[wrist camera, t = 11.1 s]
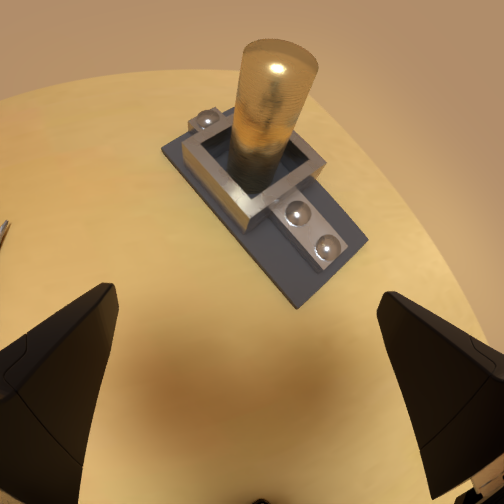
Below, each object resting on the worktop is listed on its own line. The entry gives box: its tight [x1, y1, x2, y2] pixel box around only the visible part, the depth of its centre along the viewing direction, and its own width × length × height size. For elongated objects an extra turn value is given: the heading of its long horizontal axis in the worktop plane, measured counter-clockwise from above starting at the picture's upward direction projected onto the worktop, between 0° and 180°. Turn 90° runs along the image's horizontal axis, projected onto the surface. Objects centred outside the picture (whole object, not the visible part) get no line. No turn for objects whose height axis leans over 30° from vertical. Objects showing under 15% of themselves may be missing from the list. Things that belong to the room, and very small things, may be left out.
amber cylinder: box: [226, 39, 318, 194], centre depth 19 cm, size 4×4×12 cm
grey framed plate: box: [181, 107, 348, 274], centre depth 23 cm, size 17×8×4 cm, turn 41°
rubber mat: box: [161, 107, 369, 309], centre depth 25 cm, size 18×9×1 cm, turn 41°
